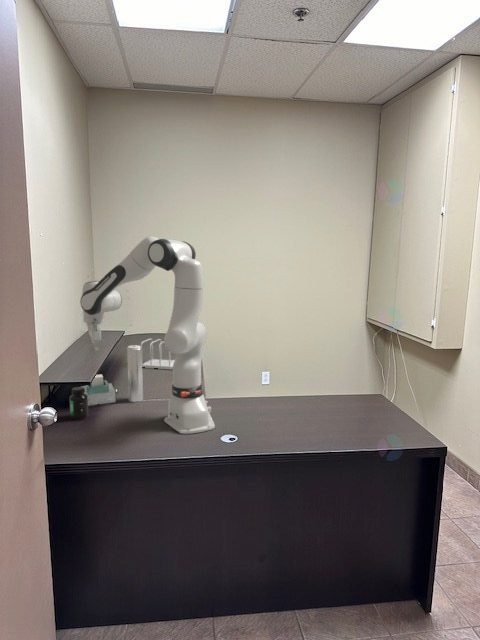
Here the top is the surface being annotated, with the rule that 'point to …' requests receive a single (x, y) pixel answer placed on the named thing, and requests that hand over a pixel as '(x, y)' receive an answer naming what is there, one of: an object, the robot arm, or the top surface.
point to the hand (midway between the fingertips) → (95, 348)
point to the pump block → (97, 381)
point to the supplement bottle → (78, 404)
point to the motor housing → (100, 394)
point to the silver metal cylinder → (135, 373)
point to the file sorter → (158, 362)
